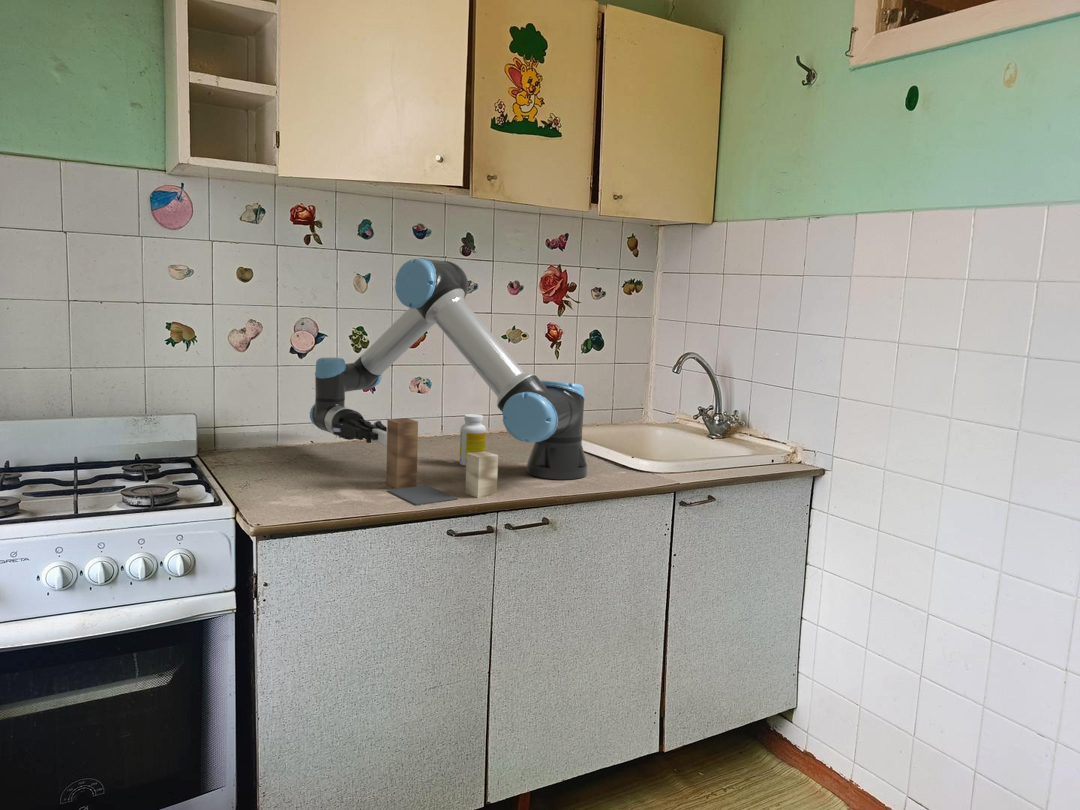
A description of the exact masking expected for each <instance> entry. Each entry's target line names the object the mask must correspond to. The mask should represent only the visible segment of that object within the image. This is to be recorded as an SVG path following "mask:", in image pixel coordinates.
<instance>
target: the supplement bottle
mask: <svg viewBox="0 0 1080 810" xmlns="http://www.w3.org/2000/svg"><path fill="white" fill-rule="evenodd" d="M483 421H484V415H482V414H475V413H468V414H464V424H462V425H461V426H460V430H459V431H460V432H459V433H460V434H459V438H460V439H459V440H460V441H459V464H460V465H461V466H463V467H466V459H467V453H472V452H482V451H487V449H486V448H487V427H486V426H485V425H483V424H482V423H483Z"/></svg>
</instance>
